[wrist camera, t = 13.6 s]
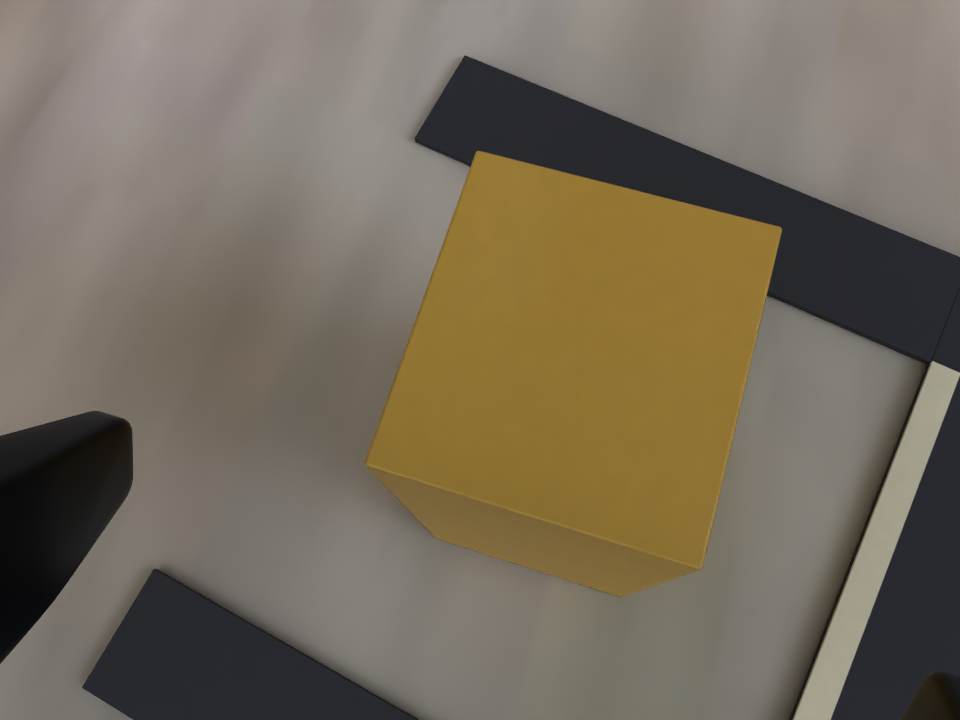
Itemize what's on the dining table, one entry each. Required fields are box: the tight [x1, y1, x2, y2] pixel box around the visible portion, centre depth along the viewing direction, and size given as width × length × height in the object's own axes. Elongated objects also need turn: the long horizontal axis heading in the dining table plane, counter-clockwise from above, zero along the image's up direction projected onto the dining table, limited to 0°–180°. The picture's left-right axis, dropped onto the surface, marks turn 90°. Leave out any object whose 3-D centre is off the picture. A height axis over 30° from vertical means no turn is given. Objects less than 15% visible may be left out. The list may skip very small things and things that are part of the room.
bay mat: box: [82, 56, 960, 720], centre depth 20 cm, size 19×19×1 cm
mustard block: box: [365, 151, 782, 597], centre depth 16 cm, size 5×5×10 cm
